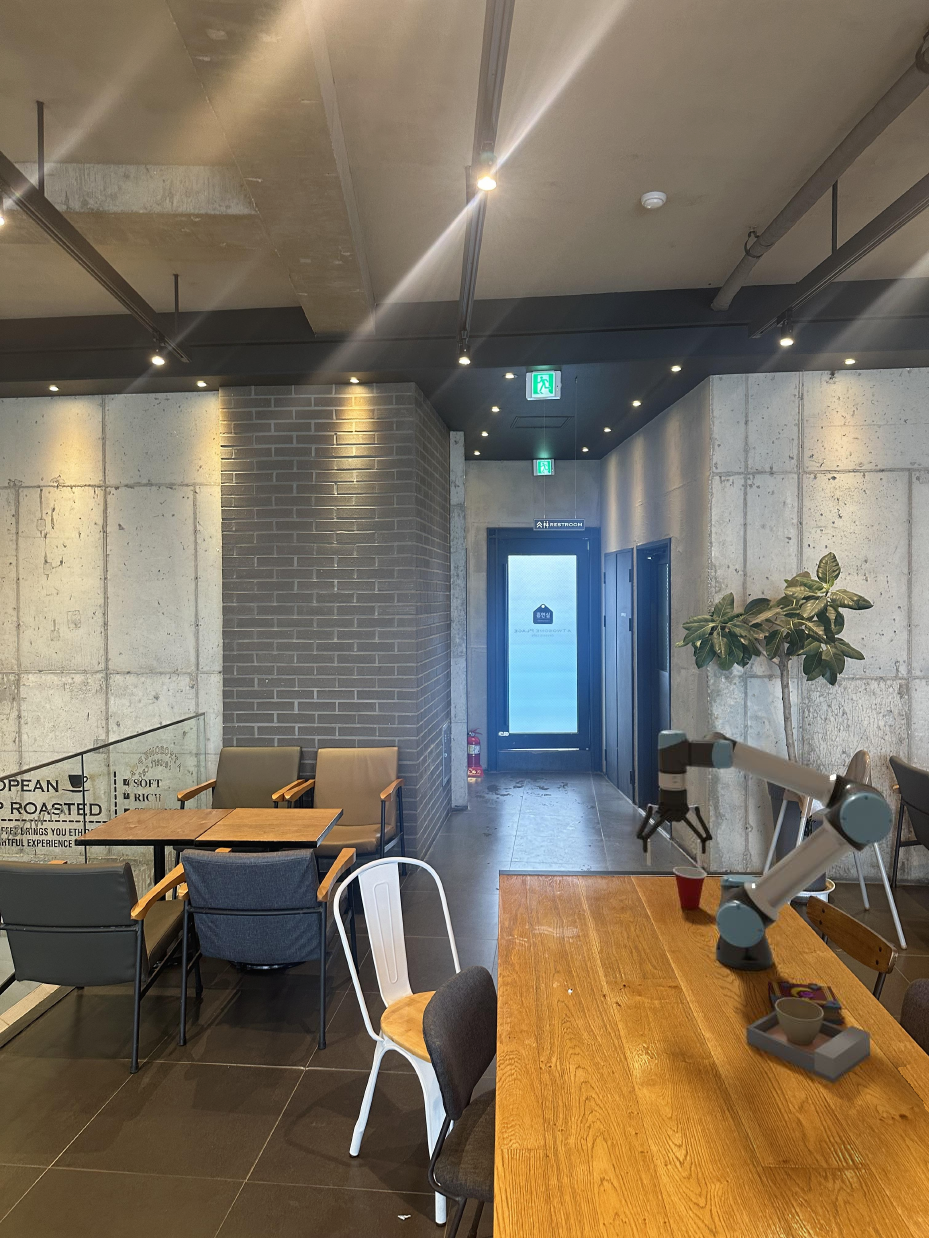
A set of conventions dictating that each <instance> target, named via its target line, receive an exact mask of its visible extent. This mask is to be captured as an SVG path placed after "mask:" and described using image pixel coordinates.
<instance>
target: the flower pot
mask: <svg viewBox="0 0 929 1238" xmlns="http://www.w3.org/2000/svg"><path fill="white" fill-rule="evenodd" d="M775 1007H776V1013H777V1017H778V1020H779V1023H780V1025H781V1028H782V1030H783V1032H784V1034H785V1035H786V1037H787V1039H788V1040H789V1041H790V1042H792V1043H794V1044H796V1045H801V1046H806V1045H810V1044H811V1043H812V1042H813V1040H814V1039H815V1038H816V1036H817V1034H818V1032H819V1030H820V1027H821V1024H822V1021H823V1014H824V1012H823V1010H822V1009H821V1008H820V1007H819V1006H818V1005H816V1004H815V1003H813V1002H810V1001H808V1000H804V999H800V998H782V999H780V1000H778V1001H777V1002H776V1004H775Z"/></svg>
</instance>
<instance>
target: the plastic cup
mask: <svg viewBox="0 0 929 1238" xmlns="http://www.w3.org/2000/svg"><path fill="white" fill-rule="evenodd" d="M672 871H673V873H674V877H675V881H676V886H677V892H678V893H677V894H678V899H679V903H680V907H681V908H683V909H685V910H691V911H692V910H693V911H694V910H698V909H699V907H700V902H701V897H702V892H703V886H704V883H705V878H706V877H707V875H708V874H707V872H706V871H704V870H702V869H700V868H695V867H689V866H678V867H677V866H676V867H674V868H673V870H672Z"/></svg>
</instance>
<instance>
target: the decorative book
mask: <svg viewBox="0 0 929 1238" xmlns="http://www.w3.org/2000/svg"><path fill="white" fill-rule="evenodd" d="M767 996H768V999H769V1003H770V1007H771V1013H772V1012H774V1011H775V1010H776V1007H775V1004H776V1002H777V1001H778V1000H780V999H782V998H800V999H804V1000H808V1001H810V1002H813V1003H815V1004H816V1005H818V1006H819V1007H820V1008H821V1009H822V1010H823V1012H824V1014H823V1021H825V1022H828V1023H830V1024H833V1025H841V1026H842V1025H843V1023H845V1021H844V1020H843V1019H842V1018H841V1016H842V1015H841V1013H840V1012H843V1009H842V1007H843V1006H842V1005H841V1003H840V1001H839V1000H838V999H837V997H836V995H835V993H834V991H833V988H832V986H829V985H820V984H818V983H816V982H815V983H813V982H808V984H807V983H806V984H805V983H795V982H794V983H792V982H790V981H789V980H779V981H767ZM839 1011H840V1012H839Z"/></svg>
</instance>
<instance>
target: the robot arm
mask: <svg viewBox="0 0 929 1238" xmlns="http://www.w3.org/2000/svg"><path fill="white" fill-rule="evenodd" d="M657 738H658V740H657V741H658V744H657V753H658V754H657V759H658V760H657V761H658V764H657V765H658V786H659V788H658V805H656V804H655V805H654V804H652V803H648V804H647V805H646V812H645V814H644V816H643V819H642V821H641V823H640V824H639V826H638V828H637V830H636V833H635V837H636V839H637V840H640V841H642V851H643V853H645V854H646V864H647V866H648V867H651V866H652V859H651V855H652V851H651V850H652V849H651V839H650V838H651V837H652V836H653V835H654V834H655V832H656V831H657V830H658V829H659V828H660V827H661V826H662V825H663V824H664V823H665V822H667V823H673V822H675V823H680V822H682V821H683V823H685V824H686V825H687V827H688V828H689V829H690V830H691V831H692V832H693V833H694V835H695V836H696V837H697V838H698V839H697V841H696V844H697V845H696V849H697V850H696V851H697V858H696V859H697V865H698V867H699V868H703V855H706V853H707V849H706V848H707V845H706V844H707V842H709V841H713V839H714V838H713V836H712V834H711V832H710V830H709V828H708V826H707V824H706V822H705V820H704V819H703V816H702V814H701V809H700V806H699V805H698V804H693V805H688V789H687V786H688V777H687V775H688V770H687V769H688V768H689V767H690V768H703V769H704V768H705V769H706V768H707V769H717V770H720V769H721V770H722V769H725V770H726V769H731V768H733V769H736V770H738V771H739V772H740V771H741V772H743V773H745V774H746V773H747V774H748V775H751V776H753V777H756V778H759V779H760V780H764V781H766V782H768V783H772V784H774V785H776V786H779V787H782V788H785V789H787V790H789V791H791V792H794V793H797V794H799V795H802V796H805V797H806V798H810V799H813V800H815V801H817V802H820V804H821V805H822V807H823V808H825V809H828V811H827V812H825V814H823V817H822V820H823V821H822V825H820V826H819V827H817V829H816V830H814V832H812V833H811V834H810V835H808V837H807V838H805V839H804V840H803V841H802V842H800V844H799V845H796V847H795V848H793V850H791V851H790V852H789V853H788V854H787V855H786V856H784V857H782V859H781V860H779V861H778V862H777V863H776V864H775V865H773V866H772V867H771V868H770V869H769V870H768V871H767V872H765V873H764V874H763V875H762V876H760V878H759V877H757V876H751V875H746V874H727V875H723V876H722V877H721V880H720V887H721V888H720V900H719V903H718V908H717V911H716V913H715V921H716V922H715V923H716V927H717V930H718V932H719V937H718V939H717V942H716V946H715V958H716V959H717V961H718V962H720V963H721V964H723V965H725V966H727V967H730V968H733V969H737V970H741V971H763V970H766V969H769V968H770V967H771V966H773V963H774V962H773V961H774V957H773V955H774V954H773V952H772V949H771V946H770V943H769V941H768V937H767V933H766V931H767V929H769V927H771V926H772V925H773V924H775V923H776V922H777V921H778V920H779V918H780V917H779V915H780V914H779V913H780V912H779V911H780V910H781V909H782V908H783V907H785V906H786V905H787V904H788V903H790V902H791V901H792V900H793V899H794V898H796V897H797V896H799V894H800V893H802V891H804V890H805V889H807V887H809V886H810V885H811V884H812V883H814V882H815V881H817V879H818V878H820V877H821V876H822V875H823V874H825V873H826V872H827V871H828V870H829V869H830V868H832V867H833V866H834V865H836V864H837V863H838V862H839V861H840V860H842V858H844V857H845V856H846V855H848V854H849V853H861V852H862V851H863V850H864V849H866V848H867V847H868V846H869V845H871V844H876V843H879V842H881V841H883V840H885V839H886V838H887V837H888V835H889V834H890V833H891V831H892V828H893V824H894V814H893V811H892V809H891V806H890V804H889V803H888V802H887V800H886V798H885V796H884V795H883V793H882V792H881V791H880V790H879V789H878V788H876V787H874V786H873V785H871V784H868V783H866V782H862V781H859V780H855V779H854V778H853V779H852V778H850V777H846V776H843V775H840V774H837V773H833V774H827V773H824V772H823V771H822V772H821V771H819V770H816V769H814V768H811V767H808V766H805V765H802V764H801V763H800V764H799V763H797V762H795V761H792V760H789V759H787V758H784V757H781V756H778V755H777V754H773V753H771V752H768V751H765V750H764V749H763V750H762V749H761V748H757V747H754V746H751V745H750V744H747V743H744V742H741V741H739V740H736V739H734V738H733V739H732V738H731V737H728V736H727V735H725V734H724V733H722V732H720V731H717V730H716V731H710V732H708V733H706V734H705V735H704V736H703V737H702V738H701V739H698V738H693V739H692V738H688V737H687V733H686V732H685V731H684V730H677V729H667V730H662V731H660V732H659V733H658V737H657ZM656 811H657V812H658V813H659V815H658V817H657V819H656V820H655V821H654V822H653V823H652V824H651V825H650V827H649V828H648V829H647V830H646V828H647V826H648V824H649V822H650V821H651V818H652V816H653V814H655V813H656ZM689 812H691V813H692V814H693V815H695V817H696V819H697V821H698V823H699V824H700V826H701V829H702V830H703V833H704V835H703V833H701V831H700V830H699V829H698V828H697V827H696V826H695V825H694V824H693V823H692V821H691V820H690V819H689V818H688V816H687V815H688V813H689ZM645 830H646V831H645Z"/></svg>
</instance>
